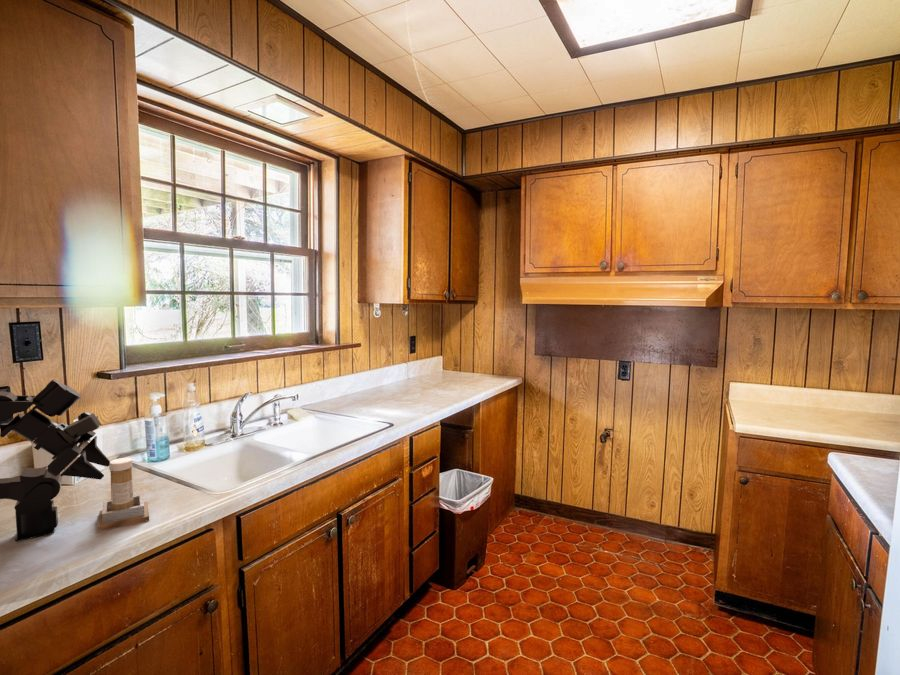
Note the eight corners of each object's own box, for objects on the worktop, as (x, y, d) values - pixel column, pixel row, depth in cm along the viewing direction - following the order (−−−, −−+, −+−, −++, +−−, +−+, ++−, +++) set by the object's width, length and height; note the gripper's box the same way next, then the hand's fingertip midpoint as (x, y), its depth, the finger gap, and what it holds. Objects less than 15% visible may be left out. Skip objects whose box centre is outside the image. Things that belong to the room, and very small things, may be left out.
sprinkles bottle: (118, 510, 118) (116, 457, 116) (138, 509, 118) (136, 456, 117) (107, 518, 113) (104, 463, 112) (127, 518, 113) (124, 463, 112)
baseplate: (97, 531, 109) (97, 527, 109) (99, 514, 117) (99, 510, 117) (149, 520, 115) (149, 516, 114) (147, 505, 123) (147, 501, 123)
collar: (102, 524, 110) (102, 514, 110) (103, 511, 117) (103, 501, 117) (144, 515, 115) (144, 505, 115) (143, 503, 121) (143, 494, 121)
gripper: (62, 413, 101) (127, 455, 107) (82, 396, 118) (137, 434, 124) (17, 455, 98) (87, 496, 104) (44, 432, 115) (103, 468, 121)
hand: (106, 471), depth 114 cm, fingers open, 9 cm apart
